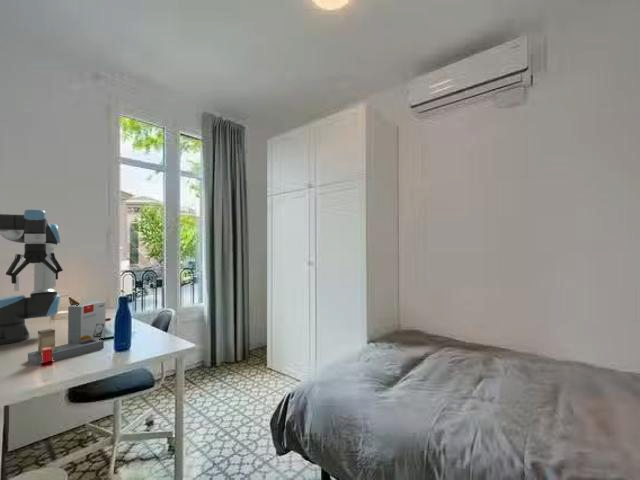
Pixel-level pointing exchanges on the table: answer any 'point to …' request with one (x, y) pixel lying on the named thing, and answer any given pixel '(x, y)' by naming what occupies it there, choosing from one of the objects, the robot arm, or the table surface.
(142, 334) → the table surface
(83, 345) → the socket strip
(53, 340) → the plug
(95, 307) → the hard drive box
